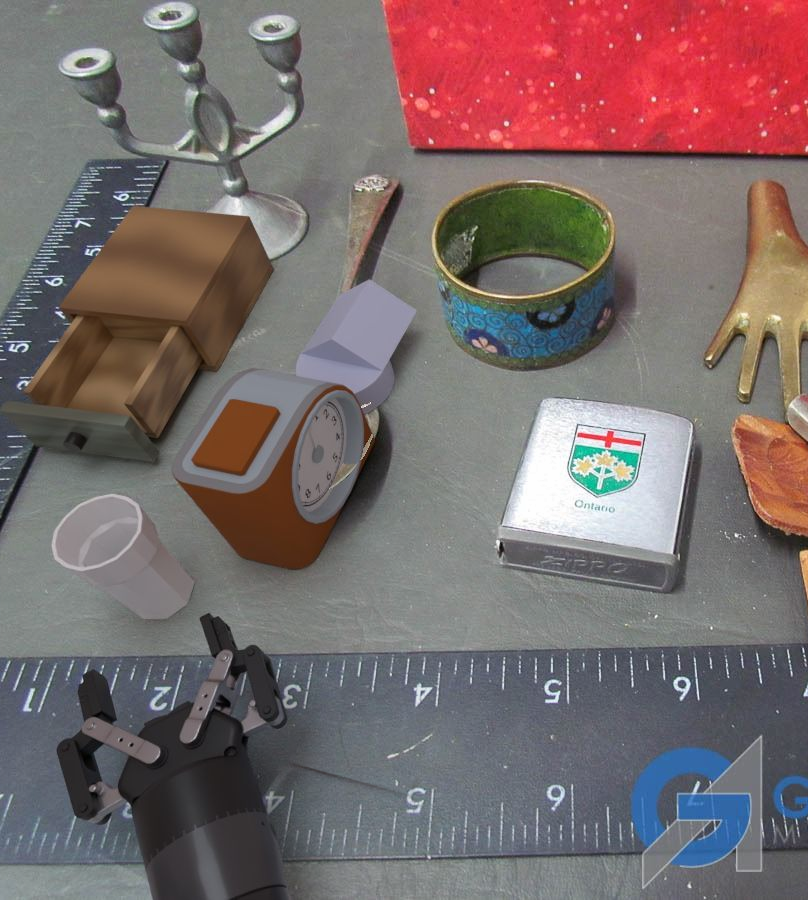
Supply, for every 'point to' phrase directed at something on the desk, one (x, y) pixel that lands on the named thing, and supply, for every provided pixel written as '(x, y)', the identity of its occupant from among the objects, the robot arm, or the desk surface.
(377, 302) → the wedge on round base
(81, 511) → the cup
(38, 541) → the desk surface
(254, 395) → the alarm clock
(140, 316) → the cabinet
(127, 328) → the drawer
